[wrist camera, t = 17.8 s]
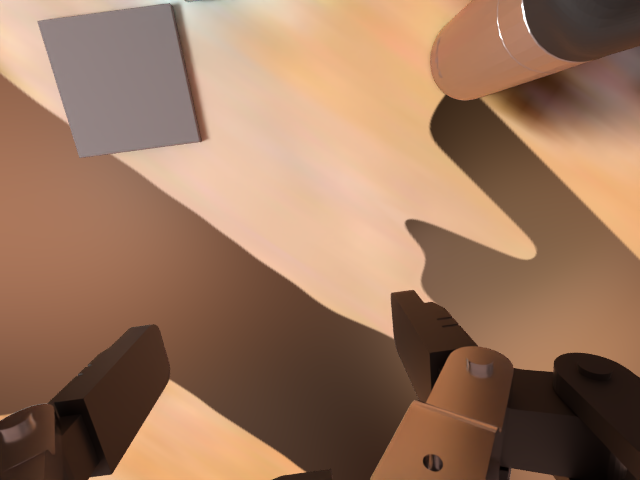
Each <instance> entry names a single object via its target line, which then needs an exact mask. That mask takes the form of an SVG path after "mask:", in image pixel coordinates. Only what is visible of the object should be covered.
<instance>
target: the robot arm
mask: <svg viewBox="0 0 640 480" xmlns="http://www.w3.org/2000/svg"><path fill="white" fill-rule="evenodd" d="M637 46H640V0H472V1H471V2H470V3H469V4H468V5H467V6H466V7H465V8H464V9H462V10H461V11H460V12H459V13H458V14H457V15H456V16H455V17H454V18H453V19H452V20H451V21H450V22H449V23H448V24H447V25H446V26H445V27H444V28H443V29H442V30H441V31H440V33H439V34H438V36H437V38H436V40H435V42H434V44H433V47H432V52H431V61H430V64H431V72H432V75H433V78H434V80H435V82H436V84H437V85H438V87H439V88H440V89H441V90H442V91H443V92H444V93H445V94H447V95H448V96H450V97H452V98H455V99H458V100H472V99H477V98H480V97H483V96H486V95H489V94H492V93H495V92H498V91H502V90H505V89H508V88H511V87H514V86H517V85H520V84H523V83H526V82H529V81H532V80H535V79H538V78H541V77H544V76H547V75H550V74H554V73H557V72H560V71H563V70H566V69H568V68H571V67H574V66H577V65H580V64H583V63H587V62H590V61H593V60H596V59H599V58H602V57H605V56H608V55H610V54H614V53H617V52H621V51H624V50H627V49H631V48H634V47H637ZM391 307H392V320H393V332H394V340H395V345H396V349H397V352H398V354H399V357H400V359H401V361H402V363H403V365H404V368H405V370H406V372H407V374H408V377H409V379H410V381H411V383H412V386H413V388H414V390H415V392H416V394H417V396H418V399H419V400H415V401H413V402H412V404H411V405H410V407H409V409H408V410H407V412H406V414H405V416H404V418H403V420H402V422H401V423H400V425H399V427H398V429H397V431H396V433H395V434H394V436H393V438H392V440H391V442H390V444H389V446H388V447H387V449H386V451H385V453H384V455H383V457H382V458H381V460H380V462H379V464H378V466H377V468H376V470H375V471H374V473H373V475H372V477H371V479H370V480H510V474H511V468H514V469H520V470H526V471H532V472H538V473H544V474H550V475H553V476H554V478H555V479H556V480H640V378H639V377H638V376H636V375H635V374H634V373H632V372H631V371H630V370H628V369H627V368H625V367H624V366H622V365H620V364H618V363H616V362H614V361H612V360H609V359H607V358H604V357H600V356H597V355H592V354H586V353H567V354H563V355H560V356H559V357H557V358H556V359H555V361H554V371H553V372H545V371H532V370H522V369H516V368H513V365H512V363H511V362H510V360H509V359H508V358H506V357H505V356H504V355H502V354H501V353H499V352H497V351H494V350H491V349H488V348H483V347H478V345H477V344H476V343H475V342H474V341H473V340H472V339H471V338H470V336H469V335H468V334H467V333H466V332H465V331H464V330H463V328H462V327H461V326H459V325H458V323H457V322H456V321H455V319H454V318H452V316H451V315H450V314H449V313H448V311H447V310H446V309H445V308H443V307H441V306H439V305H437V304H435V303H433V302H428V303H424V302H423V301H422V300H421V298H420V297H419V296H418V295H417V293H416V292H415V291H414V290H409V291H402V292H394V293H391ZM169 377H170V365H169V361H168V357H167V354H166V350H165V347H164V343H163V340H162V336H161V333H160V330H159V328H158V326H156V325H154V324H153V325H146V326H139V327H132V328H130V329H128V330H127V331H126V332H125V333H124V334H123V335H122V336H121V337H120V338H119V339H118V340H117V341H116V342H115V343H114V344H113V345H112V346H111V347H110V348H108V349H106V350H105V351H103V352H102V353H100V354H99V355H98V356H97V357H96V358H95V359H94V360H92V361H91V362H90V363H89V364H88V367H85V368H84V369H83V370H82V371H81V372H80V373H79V374H78V376H76V377H75V378H74V379H73V380H72V381H70V382H69V383H68V384H67V385H66V386H65V387H64V388H63V389H62V390H61V391H60V392H59V393H58V394H57V395H56V396H55V397H54V398H53V399H52V400H51V401H50V402H49V403H48V404H39V405H34V406H31V407H27V408H25V409H22V410H20V411H18V412H15V413H13V414H11V415H10V416H8V417H6V418H4V419H3V420H1V421H0V480H88V479H89V477H95V476H103V475H110V474H112V473H113V472H114V470H115V468H116V467H117V465H118V463H119V462H120V460H121V459H122V457H123V455H124V454H125V452H126V450H127V449H128V447H129V446H130V444H131V442H132V441H133V439H134V437H135V436H136V434H137V432H138V431H139V429H140V428H141V426H142V424H143V423H144V421H145V419H146V418H147V416H148V415H149V413H150V411H151V410H152V408H153V406H154V405H155V403H156V401H157V400H158V398H159V397H160V395H161V393H162V392H163V390H164V388H165V387H166V385H167V383H168V381H169ZM273 480H333V478H332V471H331V469H329V470H321V471H314V472H306V473H299V474H292V475H284V476H280V477H278V478H275V479H273Z"/></svg>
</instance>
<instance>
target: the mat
mask: <svg viewBox="0 0 640 480" xmlns="http://www.w3.org/2000/svg"><path fill="white" fill-rule="evenodd" d="M38 25H39V28H40V31H41V34H42V38H43V41H44V44H45V47H46V51H47V54H48V57H49V60H50V64H51V67H52V70H53V73H54V77H55V80H56V83H57V86H58V90H59V93H60V96H61V99H62V103H63V106H64V109H65V112H66V116H67V119H68V122H69V125H70V128H71V132H72V135H73V138H74V141H75V144H76V148H77V151H78V154H79V157H90V156H98V155H106V154H113V153H121V152H128V151H135V150H143V149H150V148H158V147H165V146H173V145H180V144H188V143H195V142H201V137H200V132H199V128H198V123H197V118H196V114H195V109H194V104H193V100H192V95H191V90H190V86H189V81H188V76H187V72H186V67H185V62H184V57H183V53H182V48H181V43H180V39H179V34H178V29H177V25H176V20H175V15H174V11H173V6H172V5H171V4H170V3H169V4H161V5H154V6H146V7H139V8H131V9H124V10H116V11H109V12H102V13H94V14H87V15H79V16H72V17H64V18H57V19H49V20H42V21H38Z"/></svg>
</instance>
